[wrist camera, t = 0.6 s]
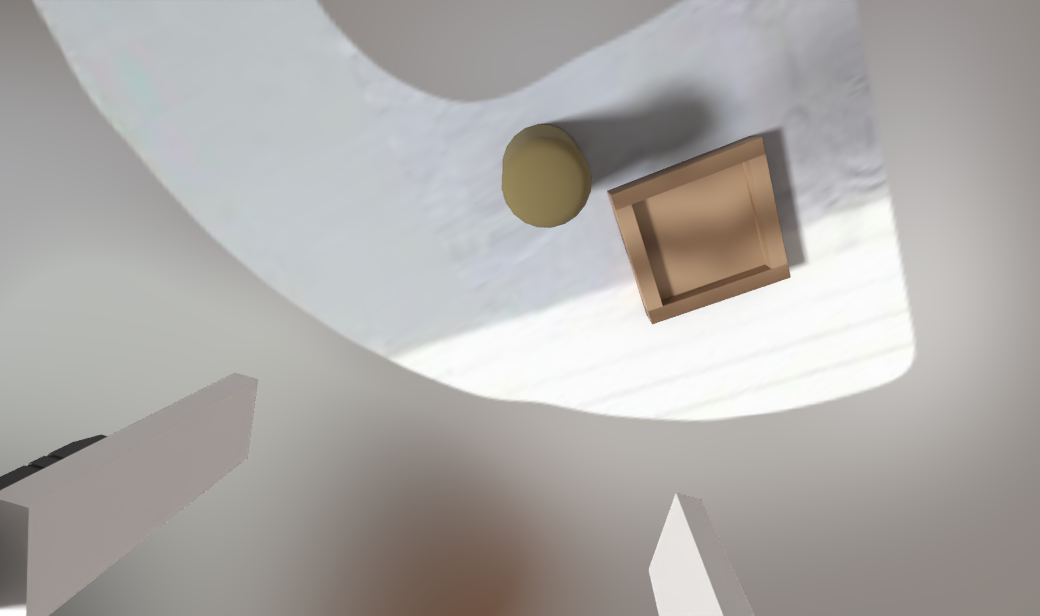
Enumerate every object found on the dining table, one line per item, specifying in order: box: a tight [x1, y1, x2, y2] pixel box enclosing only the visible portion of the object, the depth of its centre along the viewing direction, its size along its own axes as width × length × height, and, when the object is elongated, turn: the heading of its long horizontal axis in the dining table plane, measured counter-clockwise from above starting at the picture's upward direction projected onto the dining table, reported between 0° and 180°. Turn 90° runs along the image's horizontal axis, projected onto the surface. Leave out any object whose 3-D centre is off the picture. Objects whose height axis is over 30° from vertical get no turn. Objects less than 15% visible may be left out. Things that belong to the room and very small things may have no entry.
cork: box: [502, 124, 592, 228], centre depth 32 cm, size 6×6×11 cm
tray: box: [607, 136, 790, 324], centre depth 38 cm, size 11×11×2 cm
